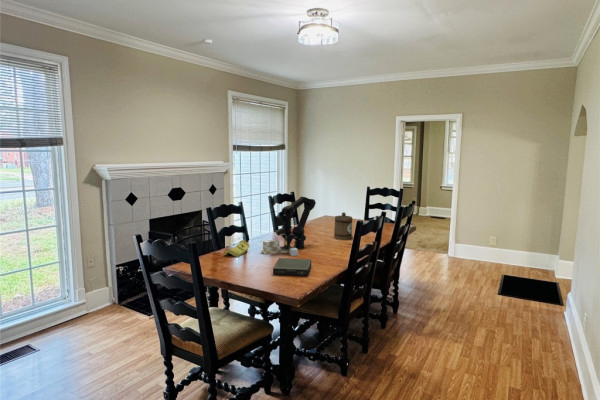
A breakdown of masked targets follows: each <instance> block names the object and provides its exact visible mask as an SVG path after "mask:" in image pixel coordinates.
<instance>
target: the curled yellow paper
mask: <svg viewBox="0 0 600 400" xmlns="http://www.w3.org/2000/svg"><path fill="white" fill-rule="evenodd" d="M249 248H250V244H249V243H248V242H247V241H245V240H243V239H241V240H240V241H239V242H238V244H236V245H235V247H233V248H229V247H228V248H227V249H226V250H225V252H224V256H228V255H229V254H230V255H232V256H234V257H236V258H239V257H241V256H242V255H244V254H245V253H246V252H247V250H249Z"/></svg>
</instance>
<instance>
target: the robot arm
mask: <svg viewBox="0 0 600 400" xmlns="http://www.w3.org/2000/svg"><path fill="white" fill-rule="evenodd" d="M302 205H303V211H302V213H301V216H300V218H299V222H298V223H297V225H296V226H294V227H292V219H293V218H294V216H293V214H294V213H295V210H297V209H298V208H299V207H300V206H302ZM315 206H316V200H315V199H314V198H308V197H306V196H300V197H299V198H298V199H296V200H295V201H294V202H292V203H291V204H290V205H285V206H284V207H282V209H281V210H280V213H279V215H278V216H276V217H275V219H274V222H273V223H274V226H276V227H281V228H278V229H276V230H275V234H276V236H277V237H280V236H281V237H282V238H283V240H284V239H286V240H287V246H288V247H289V245H290V246H291V243H292V241H293V240H294V241H293V242H294V246H293V248H297V249H298V250H299V249H306V247H305V241H306V240H307V236H306V235H305V227H306V224H307V221H308V218H309V215H310V214H311V211H312V210H313V209H314V208H315Z"/></svg>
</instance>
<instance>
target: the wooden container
mask: <svg viewBox="0 0 600 400" xmlns="http://www.w3.org/2000/svg"><path fill="white" fill-rule="evenodd" d="M333 233H334V235H333V238H334V239H335V238H336V239H335V240H338V239H340V240H339V241H349V239H350V240H352V238H353V217H352V216H350V215H346V212H345V211H343V212H341V215H336V216H334V231H333Z"/></svg>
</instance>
